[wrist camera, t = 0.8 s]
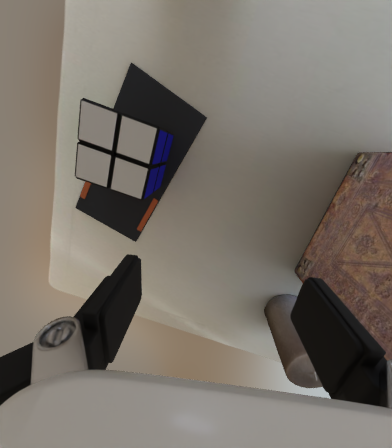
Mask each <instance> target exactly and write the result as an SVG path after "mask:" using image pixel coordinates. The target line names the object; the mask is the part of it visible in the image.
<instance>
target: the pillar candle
mask: <svg viewBox="0 0 392 448" xmlns="http://www.w3.org/2000/svg"><path fill="white" fill-rule="evenodd" d="M296 299H297V297H296V296H293V295H280V296H277V297H275V298H273V299H271V300H270V301H269V302H268V303H267V304H266V306H265V309H264V312H265V316H266V318H267V321H268V325H269V327H270V330H271V333H272V336H273V339H274V342H275V345H276V348H277V351H278V354H279V356H280V359H281V362H282V365H283V367H284V370H285V373H286V376H287V378H288V379H289V380H290V381H291V382H292V383H294V384H295V385H298V386H301V387H305V388H317V387H323V386H322V384H321V382H320V380H319V377H318V375H317V373H316V371H315V369H314V367H313V365H312V363H311V361H310V359H309V357H308V355H307V352H306V350H305V348H304V346H303V344H302V342H301V340H300V338H299V336H298V334H297V332H296V330H295V327H294V325H293V323H292V321H291V318H290V314H291V311H292V309H293V306H294V304H295V302H296Z"/></svg>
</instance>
